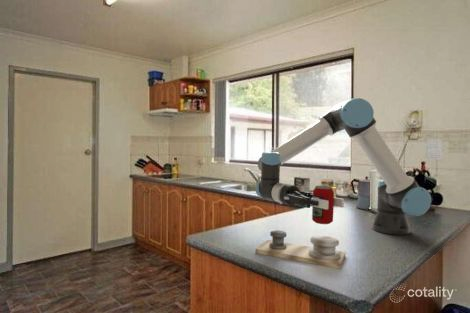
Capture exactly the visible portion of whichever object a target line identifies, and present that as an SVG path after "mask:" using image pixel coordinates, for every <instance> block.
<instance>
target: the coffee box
mask: <svg viewBox="0 0 470 313" xmlns="http://www.w3.org/2000/svg"><path fill="white" fill-rule="evenodd" d="M310 183H311V178H309V177H301V176H295V177H293V185H295V186H297V187H298V189H299V191H304V192H310Z"/></svg>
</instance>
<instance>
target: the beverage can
mask: <svg viewBox="0 0 470 313" xmlns="http://www.w3.org/2000/svg"><path fill="white" fill-rule="evenodd" d="M332 187H333V186H330V185H329V186H328V185H315V188H314V189H313V191H312V192H313V198H317V199H322V200H327V201H329V203H328V209H327V210H326V209H322V208H318V207H313V206H311V207H312V210H311V211H312V215H311V220H312V221H313V222H314V223H316V224H318V225H331V223H333V222H334V208H335V206H334V191H333V189H332Z"/></svg>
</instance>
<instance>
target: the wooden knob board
mask: <svg viewBox="0 0 470 313" xmlns="http://www.w3.org/2000/svg"><path fill="white" fill-rule="evenodd" d="M269 234H270V235H269V236H270V237H272V239H267V240H265V241H264V242H263V243H262V244H260V245H258V246H257V247H256V248H255V254H259V255H265V256H268V257H269V256H270V257H273V258H281V259H287V260H292V261H296V262H302V263H303V262H304V263H308V264H312V265H318V266H323V267H329V268H334V269H342V265H343V264H344V261H345V258H346V252H345V251H339V250H336V247H338V246H339V244H340V240H339V239H337V238H335V237H333V236H328V235H327V236H326V235H314V236H311V237H310V243H311V244H312V245H313V246H309V245H302V244H297V243H290V242H285V238H286V237H287V232H286V231H283V230H271V231H270V233H269Z"/></svg>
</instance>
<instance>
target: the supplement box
mask: <svg viewBox="0 0 470 313" xmlns="http://www.w3.org/2000/svg"><path fill="white" fill-rule="evenodd" d="M331 187H332V189H333V191H334V197H335V198H337V187H336V186H331Z"/></svg>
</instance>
